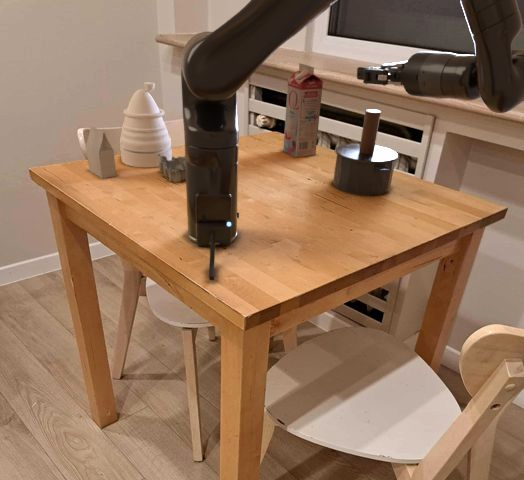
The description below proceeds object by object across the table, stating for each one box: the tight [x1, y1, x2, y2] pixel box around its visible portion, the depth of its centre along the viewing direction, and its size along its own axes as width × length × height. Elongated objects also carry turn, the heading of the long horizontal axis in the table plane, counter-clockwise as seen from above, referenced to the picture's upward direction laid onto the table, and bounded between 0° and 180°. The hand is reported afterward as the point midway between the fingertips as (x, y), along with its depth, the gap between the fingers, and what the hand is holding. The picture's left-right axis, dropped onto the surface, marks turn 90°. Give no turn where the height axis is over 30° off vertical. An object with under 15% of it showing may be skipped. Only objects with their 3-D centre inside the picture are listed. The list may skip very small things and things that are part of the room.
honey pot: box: [119, 81, 173, 168], centre depth 131 cm, size 13×13×18 cm
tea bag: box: [85, 125, 117, 179], centre depth 123 cm, size 4×7×10 cm, turn 40°
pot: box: [332, 154, 396, 196], centre depth 126 cm, size 14×19×8 cm
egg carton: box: [158, 154, 186, 183], centre depth 126 cm, size 11×8×4 cm
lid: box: [334, 108, 399, 164], centre depth 121 cm, size 15×15×10 cm
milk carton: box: [282, 62, 324, 158], centre depth 142 cm, size 7×7×22 cm
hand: (374, 70), depth 108 cm, fingers open, 8 cm apart
